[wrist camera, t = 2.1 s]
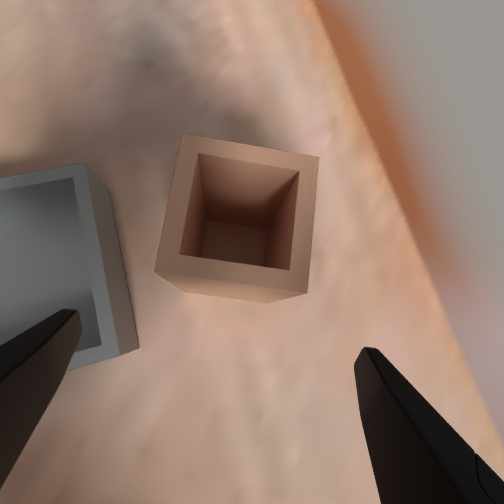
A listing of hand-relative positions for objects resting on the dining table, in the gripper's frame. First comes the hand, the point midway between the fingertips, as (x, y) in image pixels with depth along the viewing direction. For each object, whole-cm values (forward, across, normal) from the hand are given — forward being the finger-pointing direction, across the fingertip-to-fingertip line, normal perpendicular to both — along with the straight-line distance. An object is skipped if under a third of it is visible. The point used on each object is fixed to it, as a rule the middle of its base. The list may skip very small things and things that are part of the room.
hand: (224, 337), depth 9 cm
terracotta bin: (+12, 0, +5) cm, 13 cm away
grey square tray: (+9, +13, +8) cm, 17 cm away
